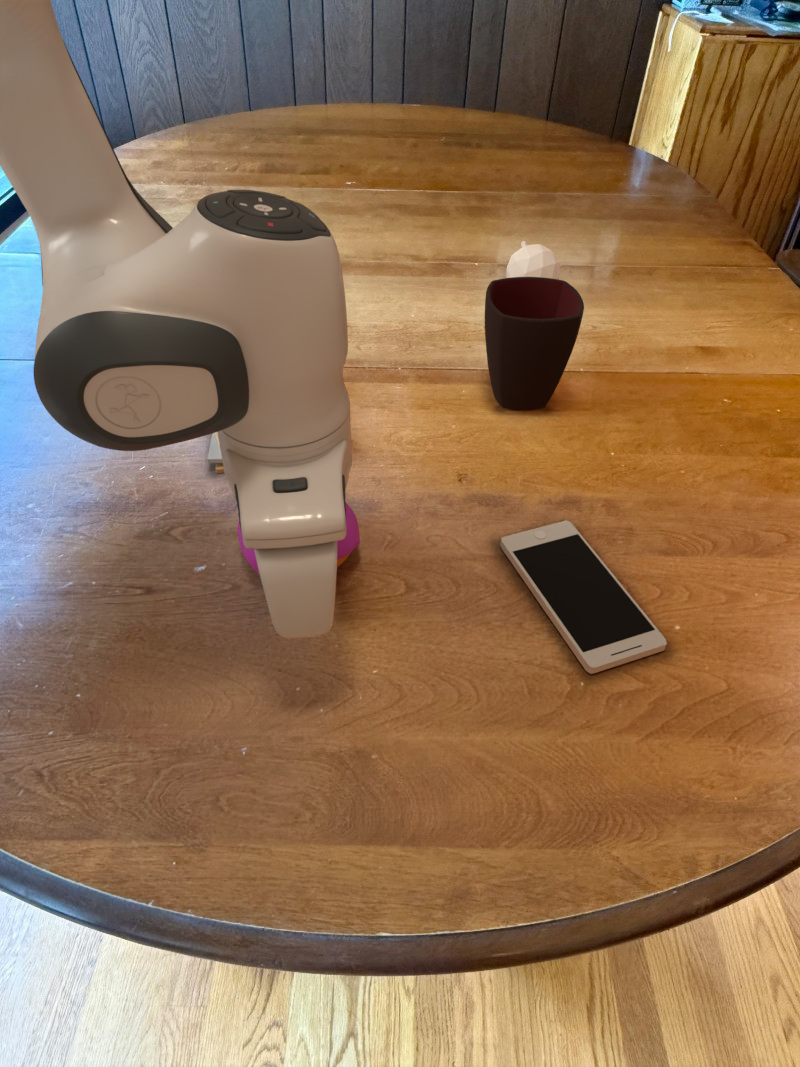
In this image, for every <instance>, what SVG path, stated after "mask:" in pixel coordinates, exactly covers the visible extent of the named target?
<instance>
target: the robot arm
mask: <svg viewBox="0 0 800 1067" xmlns="http://www.w3.org/2000/svg"><path fill="white" fill-rule="evenodd" d="M0 168H1V170H2V171H3V173H4V175H5V176H6V178H7V180H8V182H9V183H10V185H11V186H12V189H13V190H14V191H15V193H16V195H17V197H18V198H19V200H20V202H21V204H22V206H24V208H25V210H26V212H27V213H28V215H29V217H30V219H31V221H32V223H33V225H34V228H35V231H36V235H37V238H38V239H37V240H38V242H39V250H40V262H41V265H40V266H41V285H42V294H41V302H40V303H41V304H40V310H39V317H38V322H37V329H36V339H35V349H34V350H35V351H34V362H33V381H34V386H35V391H36V393H37V395H38V398H39V400H40V402H41V404H42V405H43V407H44V409H45V410H46V412H47V413H48V414H49V415H50V417H51V418H52V419H53V420H54V421H55V422H56V423H57V424H59V426H61V427H62V428H63V429H64V430H66V431H67V432H68V433H70V434H72V435H73V436H75V437H77V438H78V439H80V440H81V441H84V442H86V443H87V444H88V443H89V444H91V445H94V446H97V447H100V448H103V449H108V450H113V451H120V452H121V451H122V452H138V451H147V450H153V449H156V448H157V449H158V448H161V447H165V446H170V445H175V444H179V443H183V442H187V441H192V440H195V439H198V438H202V437H206V436H208V435H212V433H215V432H218V438H219V444H220V450H221V456H222V461H223V467H224V475H225V478H226V480H227V482H228V484H229V487H230V490H231V492H232V495H233V497H234V499H235V502H236V506H237V513H238V523H239V522H240V529H241V534H242V538H243V544H244V546H245V547H246V548H247V549H254V550H255V556H256V561H257V565H258V570H259V574H258V575H259V578H260V581H261V582H260V583H261V585H262V589H263V594H264V596H265V602H266V604H267V609H268V611H269V614H270V618H271V623H272V625H273V628H274V630H275V632H276V634H277V635H278V636H280V637H281V638H284V639H302V638H303V639H304V638H311V637H318V636H321V635H324V634H327V633H328V632H330V630H331V629H332V626H333V623H334V620H335V618H334V617H335V605H336V589H337V573H338V572H337V571H338V567H337V541H338V540H343V539H344V538H345V537H346V504H345V502H346V490H347V486H348V482H349V478H350V477H349V476H350V471H351V468H352V463H353V462H352V461H353V460H352V430H351V402H350V395H349V391H348V389H347V386H346V384H345V381H344V367H345V364H346V361H347V357H348V353H349V352H348V351H349V334H348V332H349V331H348V314H347V313H348V312H347V300H346V291H345V283H344V274H343V268H342V263H341V262H342V261H341V258H340V253H339V249H338V246H337V243H336V241H335V238H334V236H333V234H332V232H331V230H330V229H329V227H328V226H327V225H326V224H325V223H324V222H323V220H322V219H321V218H320V217H319V216H318V215H317V214H316V213H315V212H313V211H312V210H311V209H310V208H308V207H307V206H306V205H304V204H302V203H300V202H297V201H294V200H292V199H291V198H290V199H289V198H287V197H286V196H283V195H279V194H276V193H271V192H266V191H262V190H261V191H260V190H254V189H227V190H225V191H218V192H214V193H209V194H207V195H205V196H204V197H201V198H200V199H199V200H198V201H197V202H196V204H195V205H194V206H193V208H192V209H191V211H190V212H189V213H188V214H187V215H186V217H184V218H183V219H182V220H181V221H180V222H179V223H178V224H176V225H175V226H174V227H173V226H172V225H171V224H170V223H169V222H168V221H167V220H166V219H165V218H164V217H163V216H162V215H161V214H159V212H158V211H157V210H155V208H153V207H152V205H150V204H149V203H148V202H147V201H146V199H145V198H144V197H143V196H142V195H141V194H140V193H139V192H138V190H137V189H136V187H135V186H134V185H133V183H132V182H131V181H130V179H129V177H128V176H127V174H126V172H125V170H124V168H123V166H122V164H121V163H120V160H119V157H118V156H117V154H116V152H115V149H114V147H113V145H112V143H111V140H110V139H109V137H108V135H107V132H106V130H105V128H104V126H103V123H102V122H101V119H100V117H99V115H98V113H97V111H96V108H95V106H94V103H93V102H92V100H91V97H90V96H89V93H88V91H87V89H86V87H85V85H84V83H83V81H82V78H81V76H80V73H79V72H78V70H77V67H76V65H75V63H74V61H73V59H72V56H71V54H70V52H69V50H68V48H67V46H66V42H65V41H64V38H63V36H62V33H61V30H60V27H59V24H58V21H57V17H56V14H55V11H54V7H53V4H52V0H0Z"/></svg>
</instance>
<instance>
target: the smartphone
mask: <svg viewBox="0 0 800 1067" xmlns="http://www.w3.org/2000/svg"><path fill="white" fill-rule="evenodd" d="M500 548H501V550H502V552H503V553H504V554H505V555H506V557H507V559H508V560H509V561H510V563H511V565H512V566H513V567H514V569H515V570H516V572H517V573H518V575H519V576H520V578H521V579H522V580H523V582H524V583H525V585H526V586H527V588H528V589H529V590H530V592H531V594H532V595H533V596H534V598H535V599H536V601H537V603H539V605H540V607H541V608H542V610H543V611H544V612H545V614H546V615H547V617H548V618H549V620H550V621H551V622H552V624H553V626H554V627H555V628H556V630H557V631H558V633H559V634H560V636H561V637H562V639H563V640H564V641H565V643H566V644H567V646H568V647H569V649H570V650H571V651H572V653H573V655H574V657H576V659H577V660H578V662H579V663H580V664H581V666H582V668H583V669H584V670H585V671H586V673H588V674H590V675H593V674H597V673H599V672H602V671H605V670H608V669H611V668H614V667H618V666H621V665H624V664H627V663H630V662H634V661H636V660H640V659H642V658H645V657H648V656H652V655H655V654H658V653H660V652H664V651H665V649H666V647H667V645H668V641H667V638H666V637H665V636H664V635H663V634H662V632H661V631H660V630H659V628H658V627H657V626H656V625H655V623H653V621H652V620H651V619H650V618H649V617H648V615H647V614H646V613H645V611H644V610H643V609H642V608H641V606H640V605H639V604H638V603H637V602H636V600H635V599H634V598H633V597H632V596H631V594H630V593H629V592H628V590H627V589H626V588H625V587H624V586H623V584H622V583H621V582H620V580H618V579H617V576H616V575H615V574H614V573H613V572H612V571H611V569H610V568H609V567H608V566H607V565H606V563H605V562H604V561H603V559H601V557H600V556H599V555H598V554H597V553H596V551H595V550H594V548H593V547H592V546H591V545H590V544H589V543H588V541H587V540H586V538H585V537H584V536H583V535H582V534H581V533H580V531H579V529H577V528H576V526H575V525H574V524H573V522H571V521H569V520H563V521H558V522H555V523H551V524H547V525H543V526H539V527H536V528H532V529H528V530H524V531H520V532H516V533H512V534H508V535H504V536H502V537H501V538H500Z"/></svg>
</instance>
